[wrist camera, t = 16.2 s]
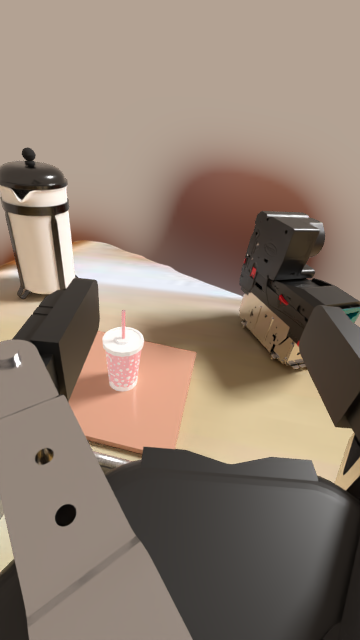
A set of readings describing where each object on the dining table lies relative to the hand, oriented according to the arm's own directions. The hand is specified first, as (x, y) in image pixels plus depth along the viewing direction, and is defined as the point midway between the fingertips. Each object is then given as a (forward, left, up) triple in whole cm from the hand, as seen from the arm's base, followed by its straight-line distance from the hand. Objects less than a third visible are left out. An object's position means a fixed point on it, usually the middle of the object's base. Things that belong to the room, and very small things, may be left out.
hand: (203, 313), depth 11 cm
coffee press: (+40, -48, -32) cm, 70 cm away
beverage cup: (+11, -23, -31) cm, 40 cm away
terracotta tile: (+12, -23, -32) cm, 41 cm away
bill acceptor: (-15, -45, -32) cm, 58 cm away
